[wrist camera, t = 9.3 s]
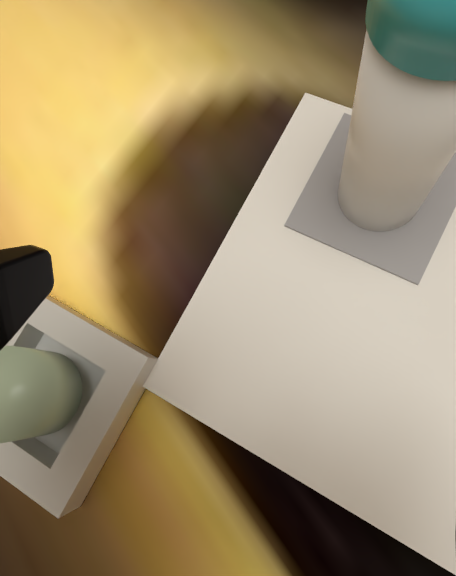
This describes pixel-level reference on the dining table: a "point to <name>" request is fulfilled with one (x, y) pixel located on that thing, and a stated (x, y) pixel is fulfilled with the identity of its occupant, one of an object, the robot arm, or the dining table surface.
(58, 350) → the button housing
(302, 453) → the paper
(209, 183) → the dining table surface
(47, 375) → the button
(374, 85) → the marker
